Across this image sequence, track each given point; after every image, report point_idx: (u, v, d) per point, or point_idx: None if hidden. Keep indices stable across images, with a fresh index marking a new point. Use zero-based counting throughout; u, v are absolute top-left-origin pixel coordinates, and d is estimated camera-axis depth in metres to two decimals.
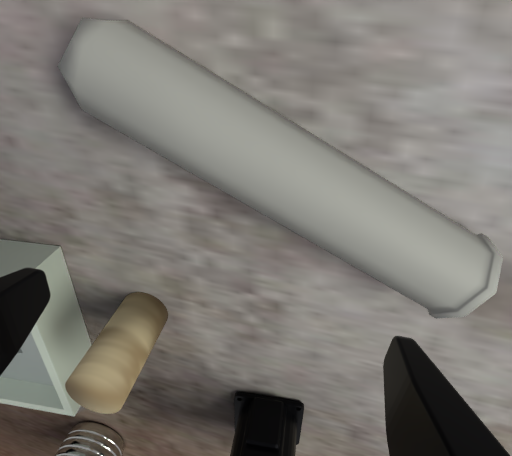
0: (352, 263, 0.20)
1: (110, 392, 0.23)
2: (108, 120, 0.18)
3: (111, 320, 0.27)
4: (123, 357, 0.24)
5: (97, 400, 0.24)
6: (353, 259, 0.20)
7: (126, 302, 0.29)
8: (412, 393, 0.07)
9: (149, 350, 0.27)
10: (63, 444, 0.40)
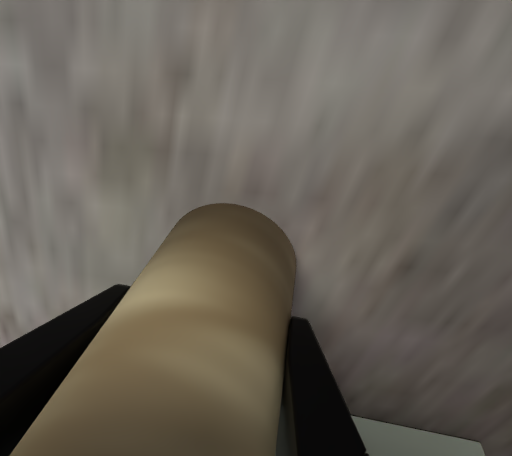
0: None
1: None
2: None
3: None
4: (47, 405, 0.05)
5: None
6: None
7: None
8: (287, 368, 0.07)
9: (202, 295, 0.07)
10: None
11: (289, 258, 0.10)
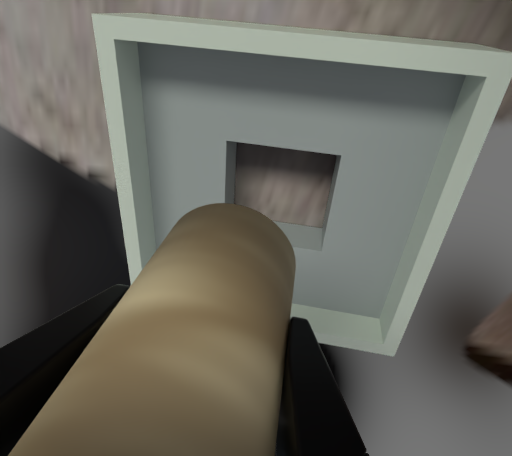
0: None
1: None
2: None
3: None
4: (46, 406, 0.05)
5: None
6: None
7: None
8: (287, 368, 0.07)
9: (201, 295, 0.07)
10: None
11: (289, 258, 0.10)
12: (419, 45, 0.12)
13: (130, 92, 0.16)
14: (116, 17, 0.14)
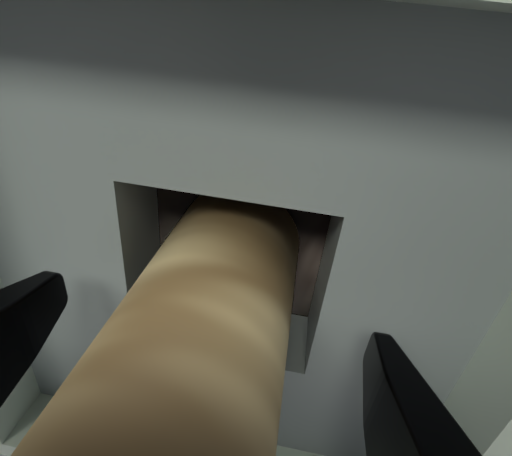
0: None
1: None
2: None
3: None
4: (95, 340, 0.06)
5: None
6: None
7: None
8: (385, 388, 0.07)
9: (220, 256, 0.08)
10: None
11: (293, 234, 0.11)
12: None
13: None
14: None
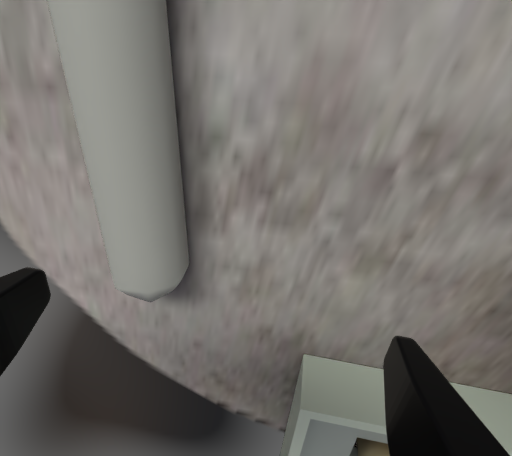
0: None
1: None
2: (167, 263, 0.20)
3: None
4: None
5: None
6: None
7: None
8: (412, 393, 0.07)
9: None
10: None
11: None
12: None
13: None
14: (315, 413, 0.23)
